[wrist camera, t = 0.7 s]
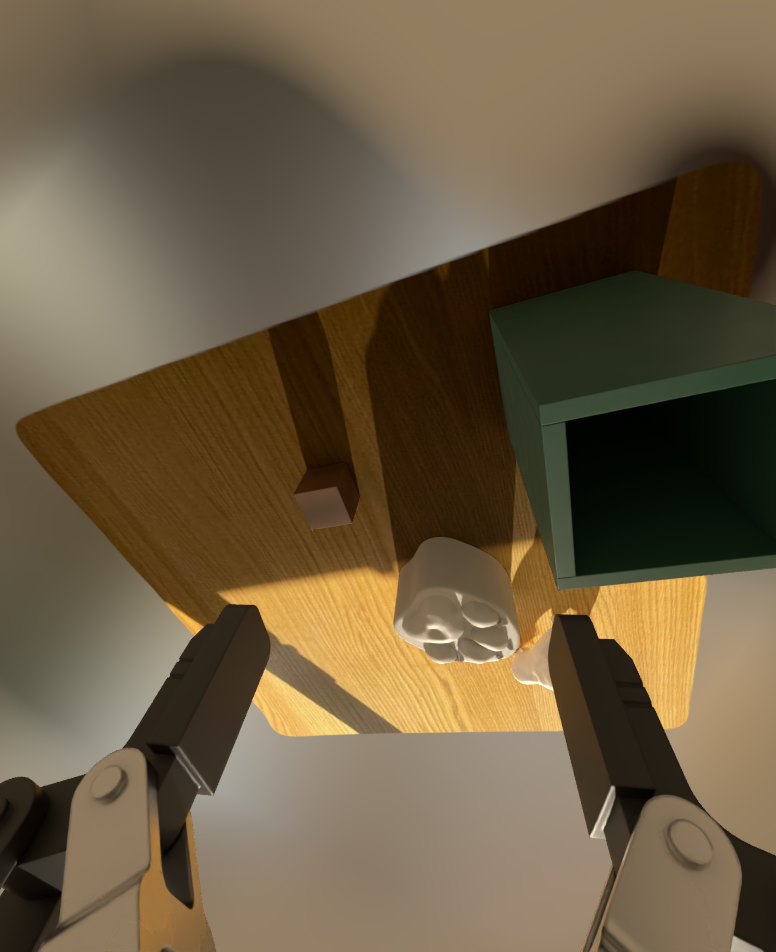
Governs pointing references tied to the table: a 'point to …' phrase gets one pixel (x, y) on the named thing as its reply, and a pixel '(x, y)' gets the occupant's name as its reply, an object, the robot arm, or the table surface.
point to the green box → (643, 427)
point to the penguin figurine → (533, 662)
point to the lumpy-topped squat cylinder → (456, 604)
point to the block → (327, 496)
